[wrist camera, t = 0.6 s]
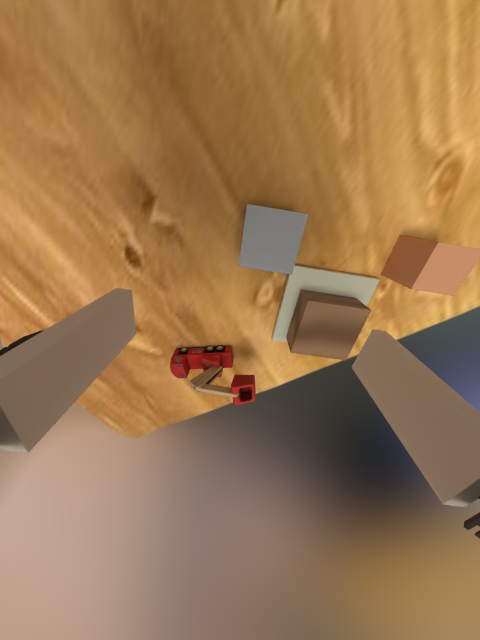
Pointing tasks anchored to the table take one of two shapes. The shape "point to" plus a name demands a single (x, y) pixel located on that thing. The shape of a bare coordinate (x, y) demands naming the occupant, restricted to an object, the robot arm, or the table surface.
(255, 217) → the slate brick
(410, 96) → the table surface
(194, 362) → the toy fire truck
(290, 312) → the plate
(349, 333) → the walnut base
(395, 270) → the terracotta brick
